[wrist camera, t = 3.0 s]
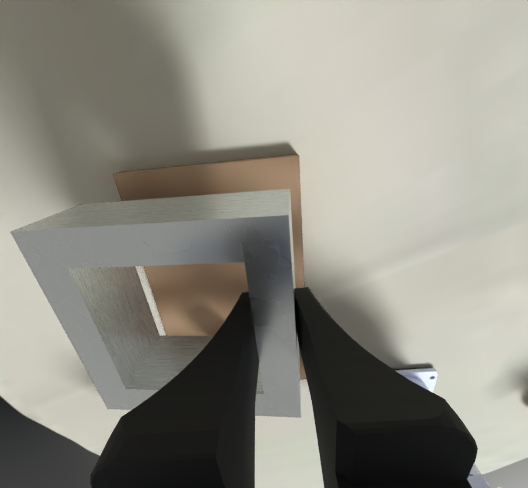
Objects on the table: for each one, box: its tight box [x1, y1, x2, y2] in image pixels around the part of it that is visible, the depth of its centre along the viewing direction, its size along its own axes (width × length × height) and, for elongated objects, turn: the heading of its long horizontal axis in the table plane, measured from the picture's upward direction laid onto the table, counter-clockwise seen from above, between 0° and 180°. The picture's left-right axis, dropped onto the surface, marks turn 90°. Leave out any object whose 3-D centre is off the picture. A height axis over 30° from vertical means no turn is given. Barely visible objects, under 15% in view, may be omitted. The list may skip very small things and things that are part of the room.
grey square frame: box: [11, 189, 301, 417], centre depth 12 cm, size 10×10×4 cm
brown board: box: [113, 154, 307, 379], centre depth 20 cm, size 22×13×6 cm, turn 6°
